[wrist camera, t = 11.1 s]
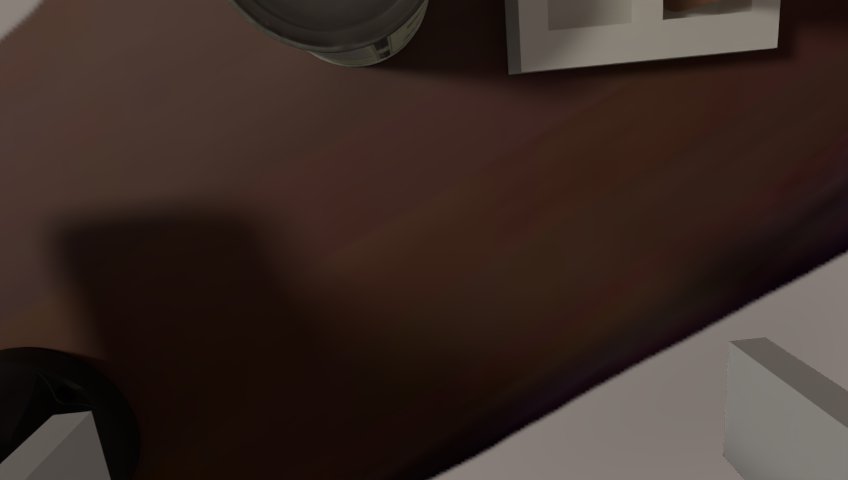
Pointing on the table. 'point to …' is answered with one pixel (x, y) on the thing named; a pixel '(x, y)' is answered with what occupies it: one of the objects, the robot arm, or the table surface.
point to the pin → (684, 4)
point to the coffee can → (337, 26)
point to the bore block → (631, 31)
